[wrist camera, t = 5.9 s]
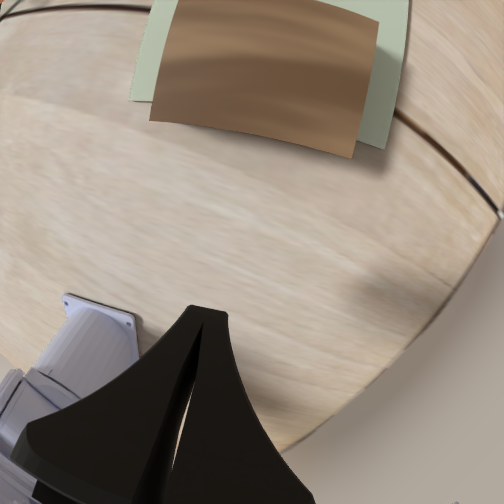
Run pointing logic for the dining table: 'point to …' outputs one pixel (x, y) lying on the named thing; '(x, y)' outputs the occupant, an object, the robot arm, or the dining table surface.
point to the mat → (364, 3)
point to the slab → (268, 70)
